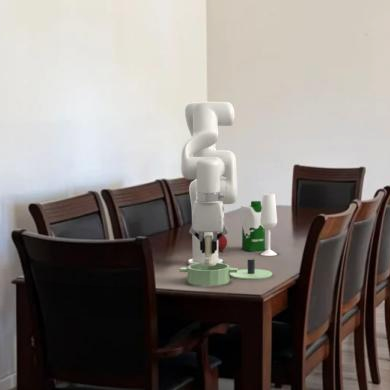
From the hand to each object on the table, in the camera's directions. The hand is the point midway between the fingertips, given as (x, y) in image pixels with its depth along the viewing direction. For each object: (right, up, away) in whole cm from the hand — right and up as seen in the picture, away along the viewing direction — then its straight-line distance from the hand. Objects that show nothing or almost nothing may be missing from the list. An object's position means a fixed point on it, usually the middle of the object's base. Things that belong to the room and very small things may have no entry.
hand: (208, 252), depth 258 cm
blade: (0, -4, +1) cm, 4 cm away
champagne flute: (+16, -5, +52) cm, 55 cm away
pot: (0, -10, +1) cm, 10 cm away
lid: (+13, -9, +11) cm, 19 cm away
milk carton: (+8, -4, +62) cm, 63 cm away
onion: (-5, -4, +57) cm, 58 cm away
